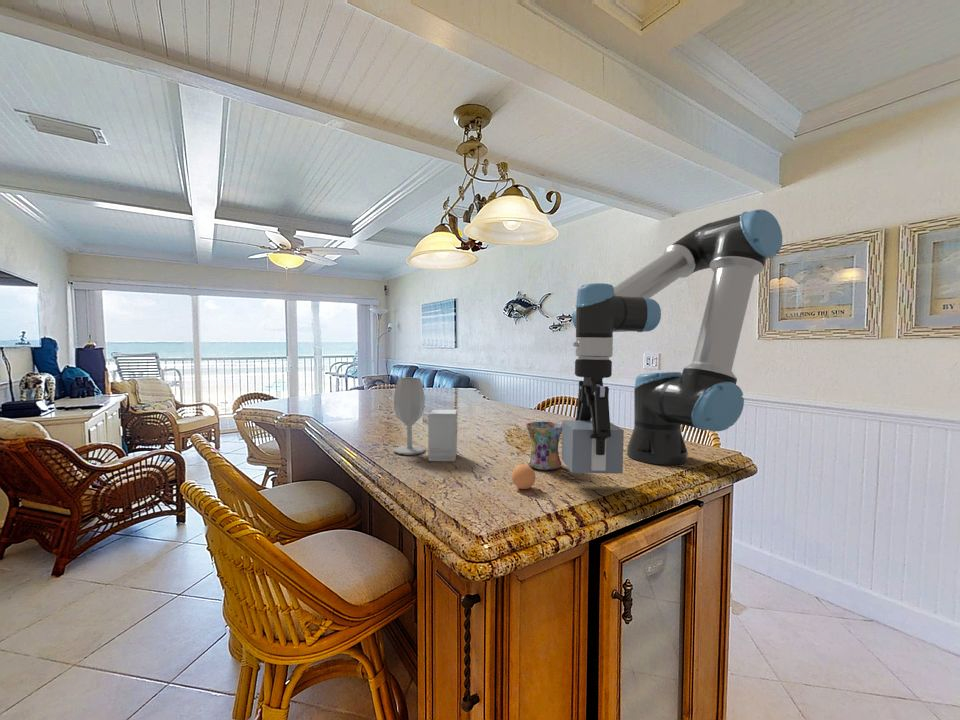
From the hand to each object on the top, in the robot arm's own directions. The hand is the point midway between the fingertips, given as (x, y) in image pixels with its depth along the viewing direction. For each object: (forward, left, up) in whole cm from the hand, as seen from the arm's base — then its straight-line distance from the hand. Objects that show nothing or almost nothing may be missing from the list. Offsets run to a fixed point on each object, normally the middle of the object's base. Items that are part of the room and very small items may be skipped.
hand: (590, 462), depth 89 cm
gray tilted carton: (0, 0, -1) cm, 1 cm away
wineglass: (+43, -30, -6) cm, 53 cm away
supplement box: (+33, -24, -6) cm, 42 cm away
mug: (+7, -17, -6) cm, 20 cm away
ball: (+14, 0, -3) cm, 15 cm away
